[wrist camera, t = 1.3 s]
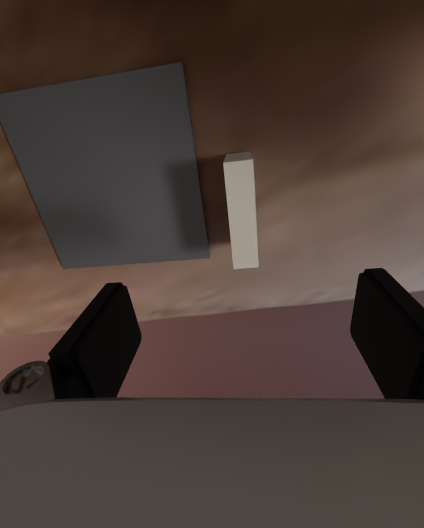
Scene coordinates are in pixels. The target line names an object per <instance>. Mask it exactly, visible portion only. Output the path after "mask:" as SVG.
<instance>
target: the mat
mask: <svg viewBox="0 0 424 528" xmlns="http://www.w3.org/2000/svg"><path fill="white" fill-rule="evenodd" d="M0 122H1V124H2V127H3V129H4V131H5V134H6V136H7V138H8V141H9V143H10V145H11V148H12V150H13V152H14V155H15V157H16V159H17V162H18V164H19V166H20V169H21V171H22V173H23V176H24V178H25V180H26V183H27V185H28V187H29V190H30V192H31V194H32V197H33V199H34V201H35V204H36V206H37V208H38V210H39V213H40V215H41V217H42V220H43V222H44V224H45V227H46V229H47V231H48V234H49V236H50V238H51V241H52V243H53V245H54V248H55V250H56V252H57V255H58V257H59V259H60V262H61V264H62V266H63V269H68V268H81V267H95V266H108V265H121V264H135V263H148V262H161V261H174V260H188V259H201V258H210V250H209V243H208V236H207V229H206V222H205V215H204V208H203V201H202V194H201V187H200V180H199V173H198V165H197V158H196V151H195V144H194V137H193V130H192V123H191V116H190V109H189V102H188V95H187V88H186V81H185V74H184V66H183V63H182V62H178V63H172V64H167V65H161V66H155V67H150V68H144V69H138V70H133V71H127V72H121V73H116V74H110V75H104V76H99V77H93V78H87V79H82V80H76V81H70V82H64V83H59V84H53V85H47V86H42V87H36V88H30V89H25V90H19V91H13V92H8V93H2V94H0Z"/></svg>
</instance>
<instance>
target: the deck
mask: <svg viewBox="0 0 424 528" xmlns="http://www.w3.org/2000/svg"><path fill="white" fill-rule="evenodd" d="M223 167H224V177H225V187H226V197H227V207H228V217H229V227H230V237H231V247H232V257H233V267H234V269H241V268H256V267H259V266H258V241H257V221H256V202H255V182H254V169H253V158H252V156H251V154H250V151H249V152H241V153H233V154H226V157H225V159H224V162H223Z"/></svg>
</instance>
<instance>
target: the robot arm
mask: <svg viewBox="0 0 424 528" xmlns="http://www.w3.org/2000/svg"><path fill="white" fill-rule="evenodd" d="M350 332H351V336H352V338H353V340H354V342H355V343H356V346H357V347H358V349H359V351H360V353H361V355H362V357H363V358H364V360H365V362H366V364H367V366H368V368H369V370H370V372H371V373H372V375H373V377H374V379H375V381H376V383H377V385H378V386H379V388H380V390H381V392H382V394H383V396H384V398H385V399H376V398H375V399H374V398H372V399H371V398H285V397H282V398H281V397H278V398H277V397H273V398H272V397H138V398H137V397H125V398H124V397H123V398H122V397H120V398H119V397H117V394H118V392H119V390H120V388H121V385H122V383H123V381H124V379H125V376H126V374H127V372H128V370H129V367H130V365H131V363H132V361H133V358H134V356H135V354H136V352H137V349H138V347H139V344H140V342H141V332H140V328H139V325H138V322H137V318H136V315H135V312H134V309H133V305H132V302H131V299H130V295H129V292H128V289H127V287H126V286H123V284H122V283H120V282H119V283H107V284H105V286H104V287H103V288H102V289H101V291H100V292H99V293H98V294H97V295H96V297H95V298H94V299H93V300H92V301H91V303H90V304H89V305H88V306H87V308H86V309H85V310H84V311H83V312H82V314H81V315H80V316H79V317H78V318H77V320H76V321H75V322H74V323H73V325H72V326H71V327H70V328H69V329H68V331H67V332H66V333H65V334H64V335H63V337H62V338H61V339H60V340H59V342H58V343H57V344H56V345H55V346H54V348H53V349H52V350H51V351H50V352H49V356H50V359H49V360H48V362H47V363H46V362H44V361H33V362H29V363H26V364H24V365H22V366H20V367H18V368H16V369H14V370H13V371H12V372H10V373H9V374H8V375H7V376H6V377H5V378H4V379H3V380H2V381H1V382H0V528H424V308H423V307H422V306H421V305H420V304H419V303H418V302H417V301H416V300H415V299H414V298H413V297H412V296H411V295H410V294H409V293H408V292H407V291H406V290H405V289H404V288H403V287H402V286H401V285H400V284H399V283H398V282H397V281H396V280H395V279H394V278H393V277H392V276H391V275H390V274H389V273H388V272H387V271H386V270H385V269H383V268H375V269H365V270H364V272H363V273H360V274H359V277H358V283H357V289H356V295H355V301H354V308H353V314H352V320H351V327H350Z"/></svg>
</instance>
